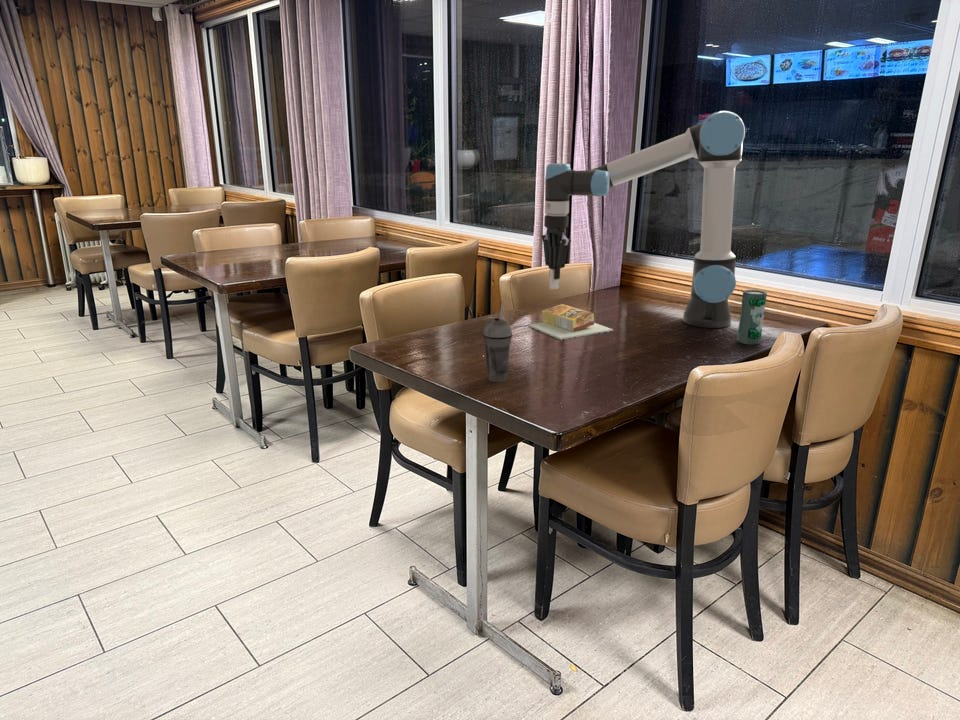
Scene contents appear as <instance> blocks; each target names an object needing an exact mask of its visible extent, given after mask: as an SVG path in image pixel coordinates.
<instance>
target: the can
mask: <svg viewBox="0 0 960 720" xmlns="http://www.w3.org/2000/svg"><path fill="white" fill-rule="evenodd" d="M767 295H768V293H767V292H766V291H763V290H758V289H757V290H756V289H746V290H742V297H741V298H742V299H741V306H740V313H739V322H738V323H739V324H738V330H737V331H738V332H737V340H736V341H737V342H738V343H741V344H745V345H759V344H761V339H762V332H763V324H764V316H765V309H766V304H767Z"/></svg>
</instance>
